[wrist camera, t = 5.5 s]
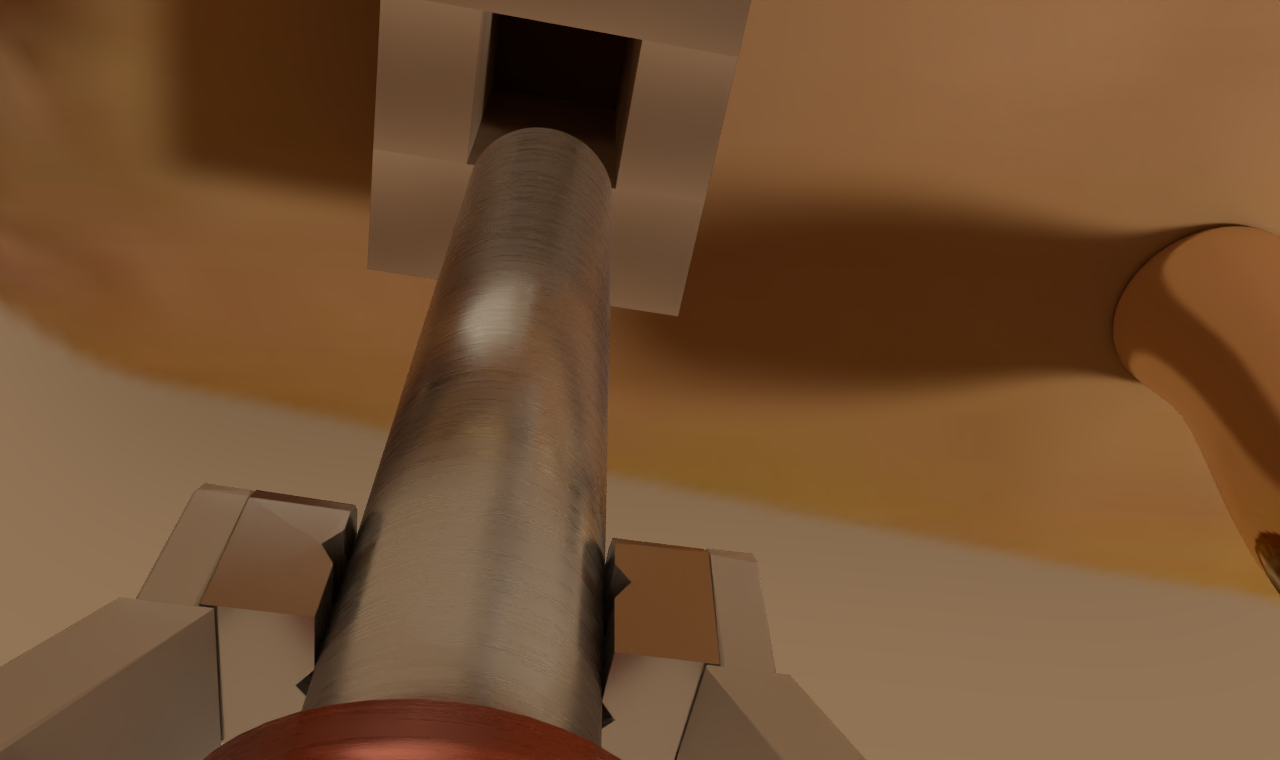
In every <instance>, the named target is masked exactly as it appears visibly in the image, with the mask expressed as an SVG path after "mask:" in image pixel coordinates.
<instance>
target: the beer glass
mask: <svg viewBox="0 0 1280 760" xmlns="http://www.w3.org/2000/svg"><path fill="white" fill-rule="evenodd" d="M1113 340H1114V345H1115V348H1116V351H1117V354H1118V356H1119V358H1120V360H1121V362H1122V364H1123V365H1124V366H1125V368H1126V369H1127V370H1128V371H1129V372H1130V373H1131V374H1132V375H1133V376H1134V377H1135V378H1136V379H1137V380H1139V381H1140V382H1141V383H1142V384H1144V385H1145V386H1146V387H1148V388H1149V389H1150V390H1152V391H1153V392H1154V393H1156V394H1157V395H1159V396H1160V397H1161V398H1163V399H1164V400H1165V401H1167V402H1168V403H1169V404H1170V405H1171V406H1172V407H1173V408H1174V409H1175V410H1176V411H1177V412H1178V413H1179V414H1180V415H1181V417H1182V418H1183V420H1184V421H1185V422H1186V424H1187V425H1188V427H1189V428H1190V430H1191V432H1192V434H1193V436H1194V438H1195V440H1196V442H1197V444H1198V446H1199V448H1200V450H1201V452H1202V455H1203V457H1204V459H1205V462H1206V464H1207V466H1208V468H1209V471H1210V473H1211V475H1212V477H1213V480H1214V482H1215V484H1216V486H1217V488H1218V491H1219V493H1220V495H1221V497H1222V499H1223V501H1224V504H1225V506H1226V508H1227V510H1228V512H1229V514H1230V516H1231V518H1232V520H1233V522H1234V524H1235V526H1236V528H1237V529H1238V531H1239V533H1240V535H1241V537H1242V539H1243V540H1244V542H1245V544H1246V546H1247V548H1248V550H1249V551H1250V553H1251V555H1252V557H1253V558H1254V560H1255V561H1256V563H1257V564H1258V565H1259V567H1260V568H1261V570H1262V571H1263V573H1264V574H1265V576H1266V577H1267V578H1268V580H1269V581H1270V583H1271V584H1272V586H1273V587H1274V589H1275V590H1276V591H1277V593H1278V594H1279V596H1280V237H1278V236H1276V235H1274V234H1272V233H1269V232H1267V231H1264V230H1261V229H1257V228H1253V227H1246V226H1224V227H1217V228H1212V229H1207V230H1204V231H1200V232H1197V233H1195V234H1192V235H1189V236H1187V237H1185V238H1183V239H1181V240H1179V241H1177V242H1175V243H1173V244H1171V245H1170V246H1168V247H1166V248H1165V249H1163V250H1162V251H1160V252H1159V253H1158V254H1156V255H1155V256H1154V257H1152V258H1151V259H1150V260H1149V261H1148V262H1147V263H1146V264H1145V265H1144V266H1143V267H1142V268H1141V269H1140V270H1139V271H1138V272H1137V273H1136V274H1135V276H1134V277H1133V278H1132V279H1131V281H1130V282H1129V284H1128V285H1127V287H1126V288H1125V290H1124V292H1123V294H1122V296H1121V298H1120V300H1119V302H1118V305H1117V308H1116V311H1115V315H1114V320H1113Z"/></svg>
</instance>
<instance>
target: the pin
mask: <svg viewBox="0 0 1280 760" xmlns="http://www.w3.org/2000/svg"><path fill="white" fill-rule="evenodd" d="M611 241H612V188H611V182H610V179H609V176H608V173H607V171H606V169H605V167H604V165H603V164H602V162H601V161H600V159H599V158H598V156H597V155H596V154H595V153H594V152H593V151H592V150H591V149H590V148H589V147H588V146H587V145H586V144H584V143H583V142H581V141H580V140H579V139H577V138H575V137H573V136H571V135H569V134H567V133H564V132H561V131H558V130H554V129H549V128H526V129H520V130H517V131H513V132H510V133H508V134H506V135H504V136H502V137H500V138H499V139H497V140H495V141H494V142H493V143H492V144H490V145H489V146H488V147H487V148H486V149H485V150H484V151H483V152H482V154H481V155H480V157H479V158H478V160H477V161H476V163H475V165H474V167H473V170H472V173H471V176H470V179H469V182H468V185H467V189H466V192H465V195H464V198H463V201H462V204H461V208H460V211H459V214H458V217H457V220H456V223H455V227H454V230H453V233H452V236H451V239H450V242H449V246H448V249H447V252H446V255H445V258H444V261H443V264H442V268H441V271H440V274H439V277H438V280H437V283H436V287H435V290H434V293H433V296H432V299H431V302H430V306H429V309H428V312H427V315H426V318H425V321H424V325H423V328H422V331H421V334H420V337H419V340H418V344H417V347H416V350H415V353H414V356H413V359H412V363H411V366H410V369H409V372H408V375H407V378H406V382H405V385H404V388H403V391H402V394H401V397H400V400H399V404H398V407H397V410H396V413H395V416H394V419H393V423H392V426H391V429H390V432H389V435H388V438H387V442H386V445H385V448H384V451H383V454H382V458H381V461H380V464H379V467H378V470H377V473H376V476H375V480H374V483H373V486H372V489H371V492H370V495H369V499H368V502H367V505H366V508H365V511H364V514H363V518H362V521H361V524H360V527H359V530H358V533H357V536H356V540H355V543H354V546H353V549H352V552H351V556H350V559H349V562H348V565H347V568H346V572H345V575H344V578H343V581H342V584H341V587H340V590H339V593H338V597H337V600H336V603H335V606H334V609H333V612H332V616H331V619H330V622H329V625H328V629H327V632H326V635H325V638H324V641H323V644H322V647H321V650H320V653H319V657H318V660H317V663H316V666H315V669H314V672H313V676H312V679H311V682H310V685H309V688H308V691H307V695H306V698H305V701H304V704H303V707H302V710H301V711H300V712H297V713H294V714H291V715H287V716H284V717H281V718H278V719H275V720H272V721H269V722H266V723H264V724H262V725H259V726H257V727H255V728H253V729H251V730H248V731H246V732H244V733H242V734H240V735H238V736H236V737H234V738H233V739H231V740H230V741H228V742H226V743H225V744H223V745H222V746H220V747H219V748H217V749H215V750H214V751H212V752H211V753H210V754H209V755H208V756H207V757H206V758H204V759H203V760H621V759H620V758H618V757H617V756H615V755H613V754H612V753H610V752H608V751H607V750H605V749H603V748H602V747H601V745H602V667H603V643H604V574H605V542H606V493H607V491H606V489H607V443H608V392H609V342H610V291H611Z"/></svg>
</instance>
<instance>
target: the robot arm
mask: <svg viewBox="0 0 1280 760" xmlns="http://www.w3.org/2000/svg"><path fill="white" fill-rule="evenodd" d="M356 536H357V508H356V506H355V505H353V504H345V503H339V502H333V501H326V500H320V499H313V498H306V497H300V496H293V495H287V494H280V493H273V492H267V491H260V490H256V491H252V490H247V489H240V488H234V487H227V486H221V485H214V484H208V483H204V484H203V485H202V486H200V487H199V488H198V489H197V490H196V491H194V492H193V494H192V496H191V498H190V500H189V501H188V503H187V505H186V507H185V509H184V511H183V512H182V514H181V516H180V518H179V520H178V522H177V523H176V525H175V527H174V529H173V531H172V533H171V534H170V536H169V538H168V540H167V542H166V544H165V546H164V547H163V549H162V551H161V553H160V555H159V557H158V559H157V560H156V562H155V564H154V566H153V568H152V570H151V571H150V573H149V575H148V577H147V579H146V581H145V583H144V584H143V586H142V588H141V590H140V592H139V594H138V595H137V597H136V599H131V598H122V597H119V598H118V599H116V600H114V601H112V602H111V603H109V604H107V605H105V606H104V607H102V608H100V609H99V610H97V611H95V612H93V613H92V614H90V615H88V616H87V617H85V618H83V619H81V620H80V621H78V622H76V623H75V624H73V625H71V626H69V627H68V628H66V629H64V630H63V631H61V632H59V633H57V634H56V635H54V636H52V637H51V638H49V639H47V640H45V641H44V642H42V643H40V644H39V645H37V646H35V647H33V648H32V649H30V650H28V651H27V652H25V653H23V654H21V655H20V656H18V657H16V658H15V659H13V660H11V661H9V662H8V663H6V664H4V665H3V666H1V667H0V760H203V759H204V758H206V757H207V756H208V755H209V754H210V753H211V752H212V751H214V750H215V749H217V748H219V747H220V746H221V743H226V742H228V741H230V740H231V739H233V738H234V737H236V736H238V735H240V734H242V733H244V732H246V731H248V730H251V729H253V728H255V727H257V726H259V725H262V724H264V723H266V722H269V721H272V720H275V719H278V718H281V717H284V716H287V715H291V714H294V713H297V712H300V711H301V710H302V707H303V704H304V701H305V698H306V695H307V691H308V688H309V685H310V682H311V679H312V676H313V672H314V669H315V666H316V663H317V660H318V657H319V653H320V650H321V647H322V644H323V641H324V638H325V635H326V632H327V629H328V625H329V622H330V619H331V616H332V612H333V609H334V606H335V603H336V600H337V597H338V593H339V590H340V587H341V584H342V581H343V578H344V575H345V572H346V568H347V565H348V562H349V559H350V556H351V552H352V549H353V546H354V543H355V539H356ZM601 747H602V748H603V749H605V750H607V751H608V752H610V753H612V754H613V755H615V756H617V757H618V758H620V759H621V760H866V759H865V758H864V757H863V756H862V754H861V753H860V752H859V751H858V750H857V749H856V748H855V747H854V746H853V744H852V743H851V742H850V741H849V740H848V739H847V738H846V737H845V735H844V734H843V733H842V732H841V731H840V730H839V729H838V728H837V727H836V726H835V724H834V723H833V722H832V721H831V720H830V719H829V718H828V717H827V716H826V714H825V713H824V712H823V711H822V710H821V709H820V708H819V707H818V706H817V705H816V704H815V702H814V701H813V700H812V699H811V698H810V697H809V696H808V694H807V693H806V692H805V691H804V690H803V689H802V688H801V687H800V686H799V685H798V683H797V682H796V681H795V680H794V679H793V678H792V677H791V676H790V675H785V674H778V673H776V670H775V665H774V658H773V651H772V645H771V639H770V633H769V627H768V621H767V615H766V609H765V602H764V596H763V591H762V584H761V578H760V572H759V565H758V560H757V559H756V558H755V556H754V555H753V554H752V553H743V552H733V551H724V550H715V549H706V550H704V549H699V548H691V547H683V546H675V545H667V544H659V543H650V542H641V541H634V540H626V539H617V538H612V541H611V544H610V547H609V550H608V554H607V558H606V563H605V574H604V643H603V667H602V745H601Z"/></svg>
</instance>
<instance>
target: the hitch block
mask: <svg viewBox="0 0 1280 760" xmlns="http://www.w3.org/2000/svg"><path fill="white" fill-rule="evenodd" d="M750 4H751V0H381V1H380V21H379V42H378V62H377V82H376V103H375V123H374V143H373V163H372V184H371V204H370V224H369V245H368V265H367V269H371V270H378V271H384V272H391V273H397V274H404V275H410V276H417V277H423V278H430V279H437V280H438V277H439V274H440V271H441V268H442V264H443V261H444V258H445V255H446V252H447V249H448V246H449V242H450V239H451V236H452V233H453V230H454V227H455V223H456V220H457V217H458V214H459V211H460V208H461V204H462V201H463V198H464V195H465V192H466V189H467V185H468V182H469V179H470V176H471V173H472V170H473V167H474V165H475V163H476V161H477V160H478V158H479V157H480V155H481V154H482V152H483V151H484V150H485V149H486V148H487V147H488V146H489V145H490V144H492V143H493V142H494V141H495V140H497V139H499V138H500V137H502V136H504V135H506V134H508V133H510V132H513V131H517V130H520V129H526V128H549V129H554V130H558V131H561V132H564V133H567V134H569V135H571V136H573V137H575V138H577V139H579V140H580V141H581V142H583V143H584V144H586V145H587V146H588V147H589V148H590V149H591V150H592V151H593V152H594V153H595V154H596V155H597V156H598V158H599V159H600V161H601V162H602V164H603V165H604V167H605V169H606V171H607V173H608V176H609V179H610V182H611V188H612V241H611V291H610V306H613V307H620V308H626V309H633V310H639V311H646V312H653V313H659V314H666V315H672V316H678V314H679V310H680V306H681V301H682V297H683V293H684V288H685V284H686V280H687V276H688V271H689V267H690V263H691V258H692V254H693V250H694V245H695V241H696V237H697V232H698V228H699V224H700V219H701V215H702V211H703V206H704V202H705V198H706V194H707V189H708V185H709V181H710V176H711V172H712V168H713V163H714V159H715V155H716V150H717V146H718V142H719V137H720V133H721V129H722V125H723V120H724V116H725V112H726V107H727V103H728V99H729V94H730V90H731V86H732V81H733V77H734V73H735V68H736V64H737V60H738V55H739V51H740V47H741V43H742V38H743V34H744V30H745V25H746V21H747V17H748V12H749V8H750ZM500 14H504V15H509V16H515V17H520V18H525V19H531V20H536V21H542V22H547V23H553V24H558V25H564V26H569V27H575V28H580V29H586V30H591V31H597V32H602V33H608V34H613V35H619V36H624V37H628V42H627V48H626V54H625V60H624V65H623V71H622V77H621V82H620V88H619V94H618V100H617V105H616V110H615V109H609V108H603V107H597V106H592V105H586V104H580V103H575V102H569V101H563V100H557V99H552V98H546V97H540V96H534V95H529V94H523V93H517V92H511V91H506V90H500V89H494V88H492V83H493V74H494V65H495V56H496V47H497V37H498V28H499V19H500Z"/></svg>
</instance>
